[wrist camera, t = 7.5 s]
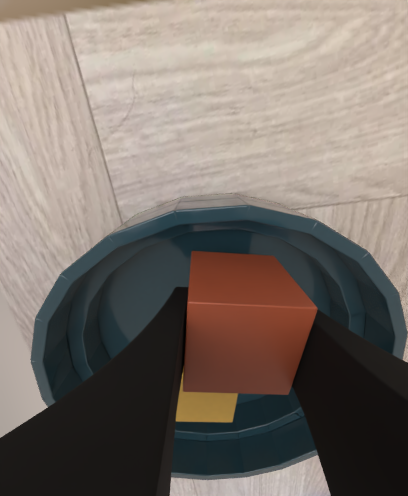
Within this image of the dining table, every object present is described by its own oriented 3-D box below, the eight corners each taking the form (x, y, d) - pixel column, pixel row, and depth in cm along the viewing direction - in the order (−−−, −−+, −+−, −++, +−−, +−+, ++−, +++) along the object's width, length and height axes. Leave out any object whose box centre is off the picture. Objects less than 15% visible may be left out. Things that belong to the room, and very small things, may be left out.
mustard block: (172, 361, 16) (164, 422, 12) (173, 319, 14) (164, 372, 10) (224, 363, 16) (232, 423, 12) (230, 321, 14) (242, 375, 11)
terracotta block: (187, 317, 11) (182, 392, 8) (191, 250, 10) (187, 301, 6) (259, 320, 11) (289, 395, 8) (273, 255, 10) (318, 308, 6)
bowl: (96, 408, 18) (66, 480, 14) (57, 178, 11) (-26, 184, 7) (306, 412, 19) (337, 480, 15) (389, 204, 12) (489, 222, 8)
